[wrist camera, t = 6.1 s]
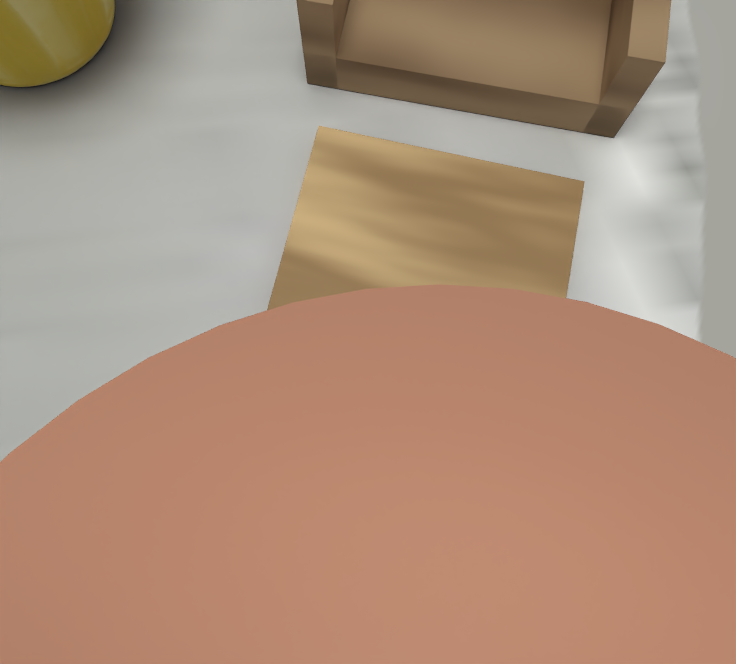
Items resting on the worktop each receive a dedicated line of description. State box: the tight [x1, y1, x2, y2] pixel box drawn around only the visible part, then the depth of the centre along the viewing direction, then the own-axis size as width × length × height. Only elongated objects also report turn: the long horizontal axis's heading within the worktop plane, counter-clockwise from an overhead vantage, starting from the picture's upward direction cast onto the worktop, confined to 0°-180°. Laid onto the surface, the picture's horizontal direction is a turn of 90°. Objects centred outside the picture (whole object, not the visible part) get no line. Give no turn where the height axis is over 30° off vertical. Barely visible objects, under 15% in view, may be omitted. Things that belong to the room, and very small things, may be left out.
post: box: [0, 284, 736, 664], centre depth 8 cm, size 5×5×13 cm
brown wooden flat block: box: [267, 126, 584, 310], centre depth 23 cm, size 4×10×12 cm
